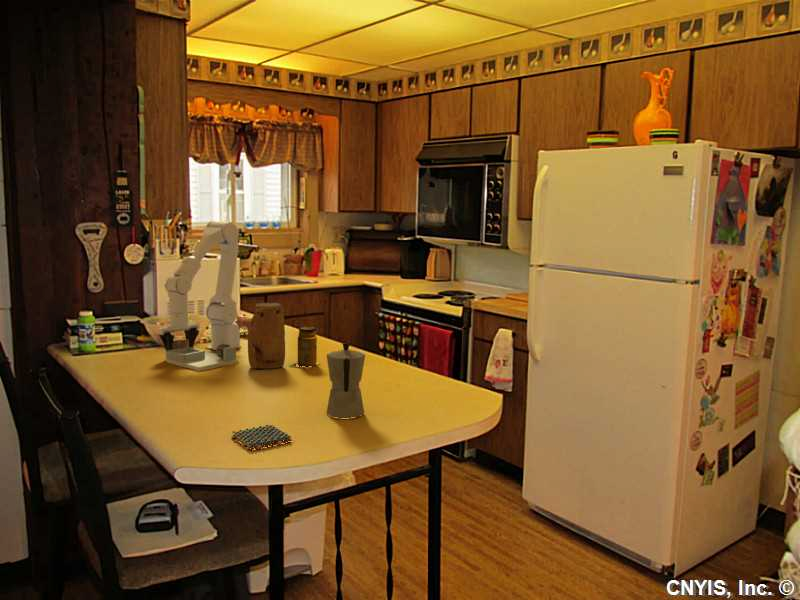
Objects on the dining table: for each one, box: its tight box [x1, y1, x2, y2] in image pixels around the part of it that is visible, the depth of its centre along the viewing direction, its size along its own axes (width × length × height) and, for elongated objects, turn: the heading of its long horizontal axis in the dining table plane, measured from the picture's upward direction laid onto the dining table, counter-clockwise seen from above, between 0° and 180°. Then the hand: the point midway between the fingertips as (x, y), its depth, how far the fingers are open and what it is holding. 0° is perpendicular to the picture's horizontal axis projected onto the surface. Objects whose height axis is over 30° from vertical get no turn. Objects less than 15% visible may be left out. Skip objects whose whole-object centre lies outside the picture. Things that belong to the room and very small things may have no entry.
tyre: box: [215, 344, 231, 358], centre depth 218 cm, size 4×2×4 cm, turn 143°
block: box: [247, 302, 286, 370], centre depth 212 cm, size 11×8×20 cm
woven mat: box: [231, 424, 293, 450], centre depth 149 cm, size 10×11×2 cm
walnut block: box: [173, 337, 189, 350], centre depth 224 cm, size 4×4×6 cm
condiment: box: [288, 326, 318, 370], centre depth 217 cm, size 7×8×12 cm
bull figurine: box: [236, 311, 252, 338], centre depth 263 cm, size 4×13×8 cm, turn 40°
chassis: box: [165, 346, 239, 372], centre depth 217 cm, size 15×17×5 cm
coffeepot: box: [326, 342, 366, 418], centre depth 166 cm, size 15×9×18 cm, turn 6°
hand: (179, 353), depth 224 cm, fingers open, 7 cm apart
